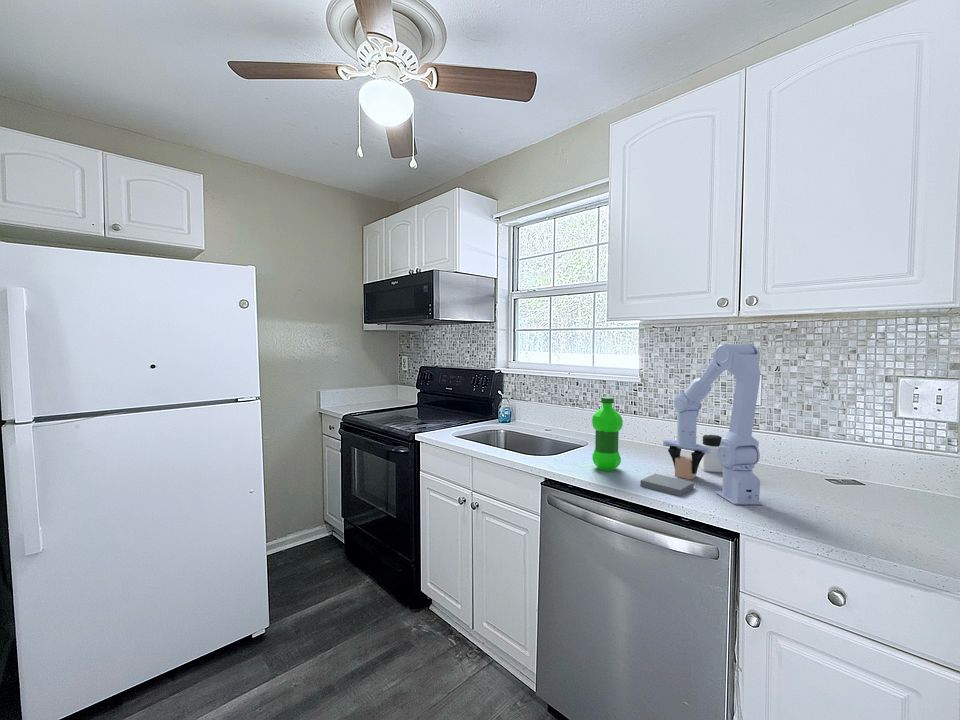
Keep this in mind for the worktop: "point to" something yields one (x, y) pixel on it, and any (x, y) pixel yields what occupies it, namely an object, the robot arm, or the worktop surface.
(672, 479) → the charcoal base
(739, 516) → the worktop surface
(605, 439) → the plastic bottle
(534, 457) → the worktop surface
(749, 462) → the robot arm
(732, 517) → the worktop surface
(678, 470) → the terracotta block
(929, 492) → the worktop surface
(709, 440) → the medicine bottle
